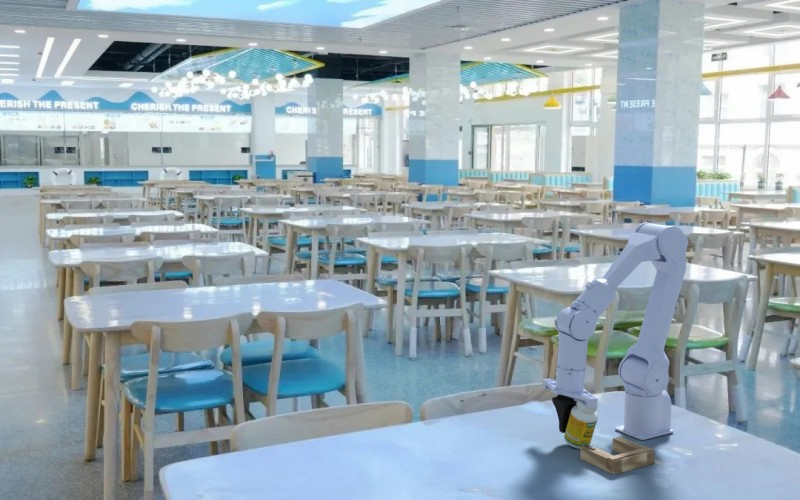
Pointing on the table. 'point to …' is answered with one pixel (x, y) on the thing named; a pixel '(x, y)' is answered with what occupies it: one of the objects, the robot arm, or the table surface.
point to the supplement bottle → (580, 425)
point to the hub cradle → (619, 456)
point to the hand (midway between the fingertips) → (565, 432)
